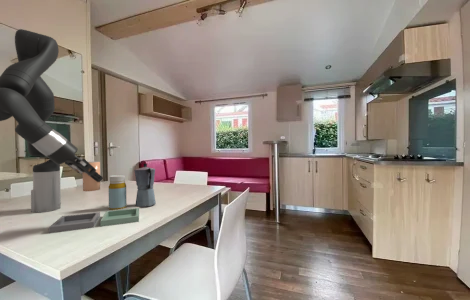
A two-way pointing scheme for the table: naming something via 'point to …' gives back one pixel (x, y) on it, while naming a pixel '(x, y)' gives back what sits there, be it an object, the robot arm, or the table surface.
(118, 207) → the bottle
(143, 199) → the moka pot
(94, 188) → the orange cylinder
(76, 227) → the tray
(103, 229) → the table surface
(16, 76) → the robot arm
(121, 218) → the tray
